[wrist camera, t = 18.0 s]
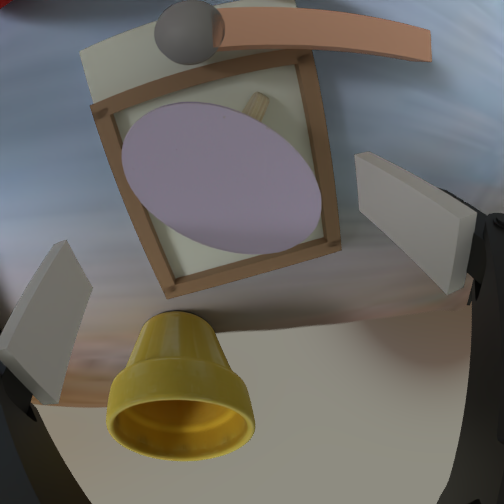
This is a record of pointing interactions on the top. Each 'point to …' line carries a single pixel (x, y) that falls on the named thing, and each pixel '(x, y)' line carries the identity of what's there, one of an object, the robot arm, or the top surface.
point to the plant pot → (179, 394)
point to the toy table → (222, 177)
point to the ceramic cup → (4, 3)
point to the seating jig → (224, 94)
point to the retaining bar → (282, 32)
